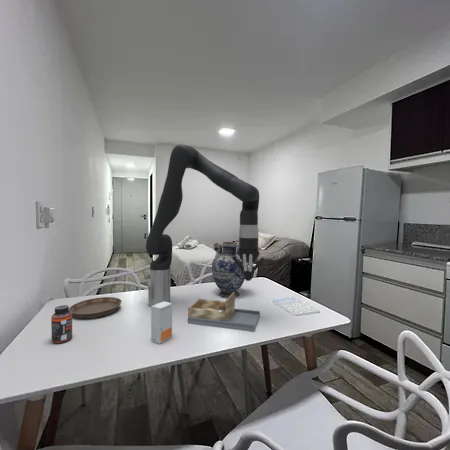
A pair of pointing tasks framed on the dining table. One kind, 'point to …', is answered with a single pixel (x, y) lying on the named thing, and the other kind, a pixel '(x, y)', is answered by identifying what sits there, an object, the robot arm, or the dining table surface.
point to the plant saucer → (95, 307)
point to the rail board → (232, 320)
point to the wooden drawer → (212, 309)
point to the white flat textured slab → (295, 306)
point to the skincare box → (161, 322)
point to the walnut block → (222, 306)
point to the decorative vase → (227, 269)
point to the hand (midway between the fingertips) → (248, 280)
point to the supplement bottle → (61, 324)
